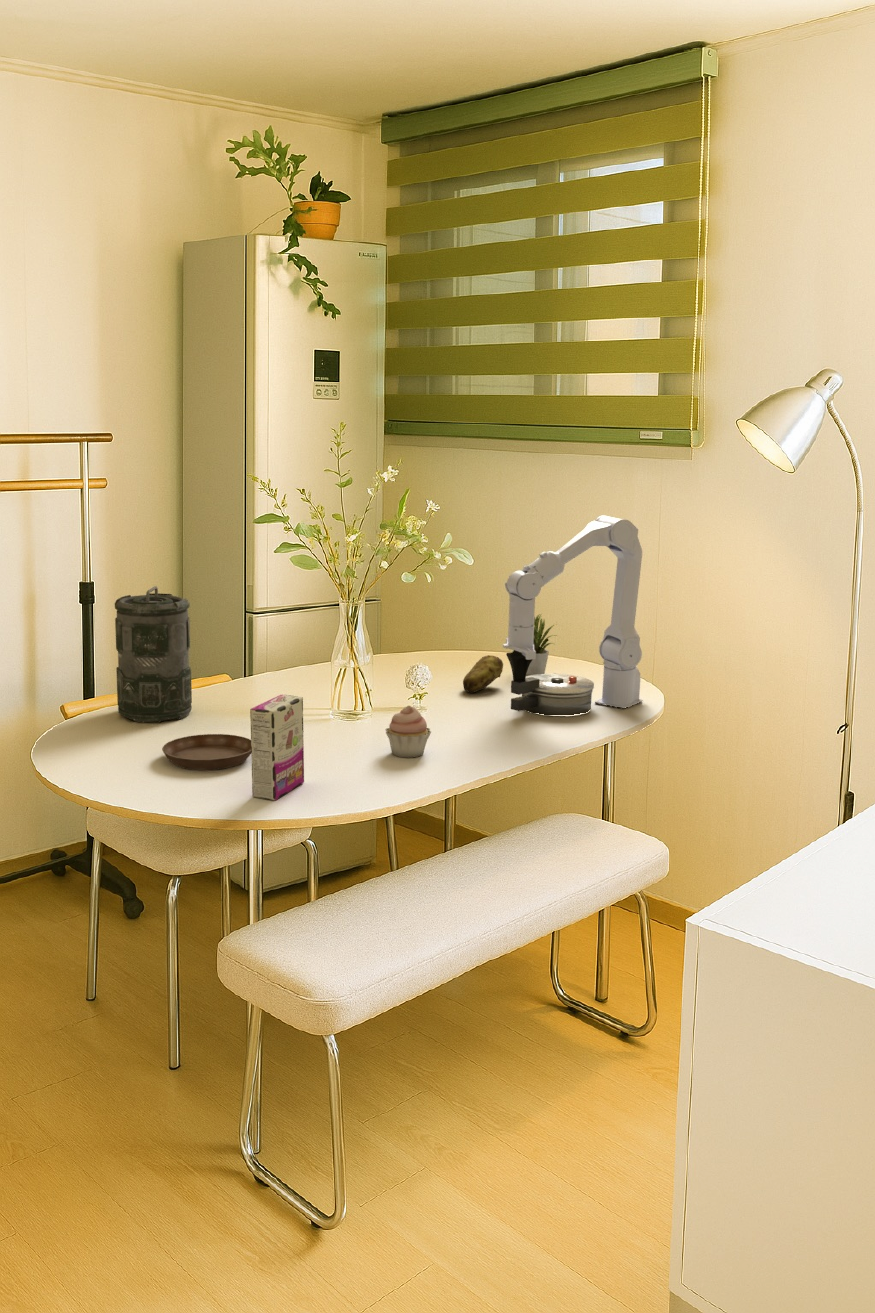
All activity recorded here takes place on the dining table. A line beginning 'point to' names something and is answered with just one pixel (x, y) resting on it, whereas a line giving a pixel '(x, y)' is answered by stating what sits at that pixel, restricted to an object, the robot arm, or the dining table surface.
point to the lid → (552, 684)
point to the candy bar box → (277, 747)
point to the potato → (483, 673)
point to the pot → (553, 703)
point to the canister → (153, 657)
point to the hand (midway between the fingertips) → (519, 684)
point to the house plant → (539, 648)
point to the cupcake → (408, 733)
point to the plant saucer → (208, 751)
